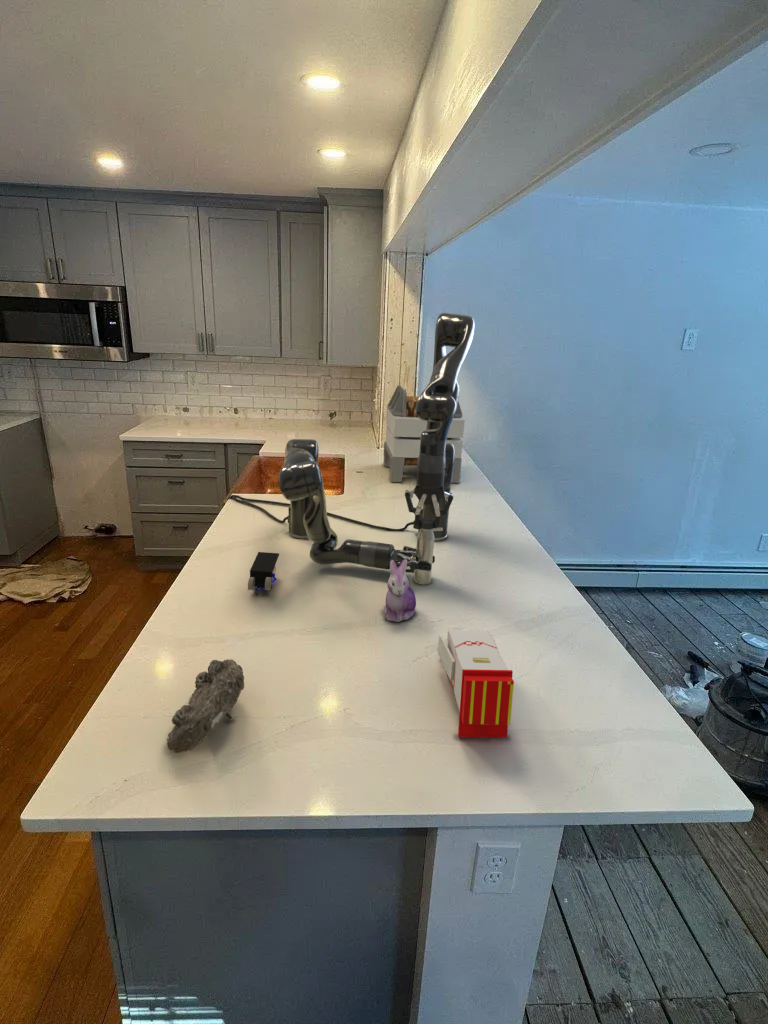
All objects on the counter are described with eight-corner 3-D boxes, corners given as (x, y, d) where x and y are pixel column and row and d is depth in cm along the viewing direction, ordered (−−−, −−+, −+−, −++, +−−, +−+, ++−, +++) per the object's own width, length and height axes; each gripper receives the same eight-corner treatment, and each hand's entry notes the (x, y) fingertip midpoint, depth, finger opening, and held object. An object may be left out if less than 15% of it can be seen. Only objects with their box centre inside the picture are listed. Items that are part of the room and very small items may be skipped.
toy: (488, 613, 130) (523, 677, 101) (484, 667, 133) (517, 744, 104) (435, 612, 130) (455, 676, 101) (432, 666, 133) (451, 743, 103)
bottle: (413, 583, 164) (418, 524, 158) (414, 576, 169) (418, 518, 162) (430, 585, 164) (435, 525, 158) (430, 577, 168) (435, 519, 162)
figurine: (392, 627, 141) (395, 572, 136) (374, 608, 149) (376, 556, 144) (425, 619, 145) (429, 566, 140) (405, 601, 154) (408, 550, 149)
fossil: (192, 660, 117) (244, 628, 112) (224, 691, 120) (276, 661, 115) (142, 746, 98) (202, 712, 93) (182, 779, 101) (242, 748, 96)
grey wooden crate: (382, 463, 289) (386, 382, 275) (445, 464, 293) (451, 384, 279) (390, 482, 257) (394, 392, 243) (460, 483, 261) (468, 394, 247)
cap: (435, 529, 158) (436, 523, 158) (419, 529, 158) (419, 523, 158) (433, 524, 163) (434, 517, 162) (417, 523, 162) (418, 517, 162)
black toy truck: (272, 602, 153) (280, 572, 166) (271, 579, 149) (279, 550, 163) (247, 602, 152) (257, 572, 166) (245, 578, 149) (256, 549, 162)
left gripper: (370, 552, 160) (429, 561, 156) (383, 534, 173) (438, 542, 169) (369, 576, 162) (427, 585, 158) (382, 557, 175) (436, 565, 171)
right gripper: (456, 466, 158) (451, 524, 164) (405, 463, 159) (402, 520, 164) (457, 474, 151) (452, 533, 157) (404, 470, 152) (400, 529, 157)
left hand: (432, 563), depth 164 cm, fingers closed on bottle, 5 cm apart
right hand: (426, 526), depth 160 cm, fingers closed on cap, 4 cm apart
